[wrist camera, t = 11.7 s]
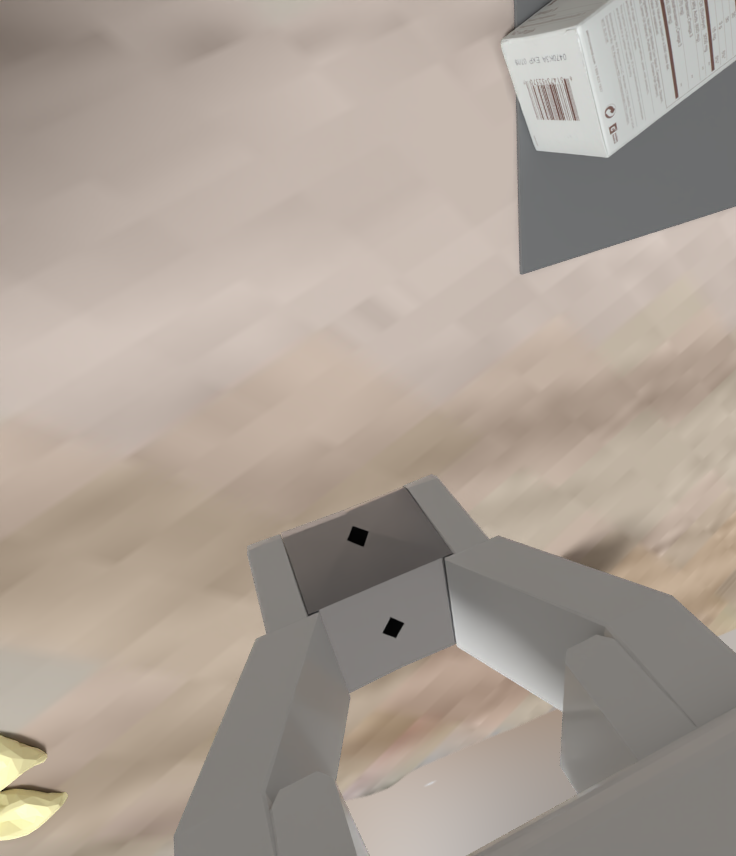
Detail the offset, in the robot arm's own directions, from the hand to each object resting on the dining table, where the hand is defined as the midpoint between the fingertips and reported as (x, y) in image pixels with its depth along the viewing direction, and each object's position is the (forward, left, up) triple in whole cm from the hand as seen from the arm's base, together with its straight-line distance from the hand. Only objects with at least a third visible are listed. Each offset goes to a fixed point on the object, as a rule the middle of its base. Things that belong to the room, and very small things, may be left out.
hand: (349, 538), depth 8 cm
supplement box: (+15, +16, -25) cm, 33 cm away
